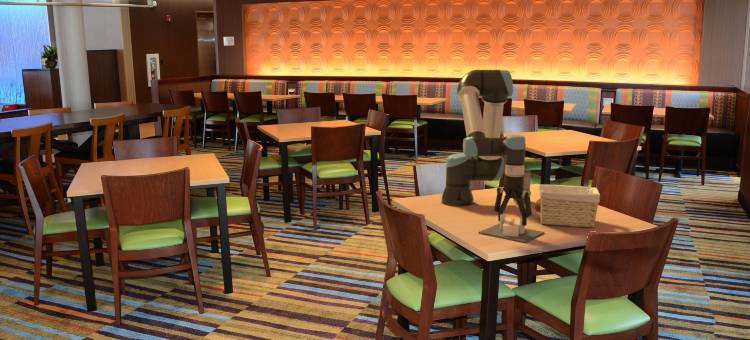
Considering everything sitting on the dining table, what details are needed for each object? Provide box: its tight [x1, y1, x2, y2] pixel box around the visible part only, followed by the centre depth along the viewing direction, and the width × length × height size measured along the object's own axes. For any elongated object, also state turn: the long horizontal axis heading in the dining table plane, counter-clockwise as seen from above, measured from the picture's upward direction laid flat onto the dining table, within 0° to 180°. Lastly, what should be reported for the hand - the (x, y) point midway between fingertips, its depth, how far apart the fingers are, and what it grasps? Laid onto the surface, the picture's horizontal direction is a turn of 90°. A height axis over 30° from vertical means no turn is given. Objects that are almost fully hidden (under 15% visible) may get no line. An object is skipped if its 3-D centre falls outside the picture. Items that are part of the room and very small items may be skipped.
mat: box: [478, 222, 545, 244], centre depth 260 cm, size 20×17×1 cm
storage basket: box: [538, 183, 601, 228], centre depth 275 cm, size 24×16×15 cm
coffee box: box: [512, 167, 532, 206], centre depth 311 cm, size 9×6×16 cm
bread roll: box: [533, 198, 541, 213], centre depth 297 cm, size 10×10×8 cm
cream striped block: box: [502, 217, 520, 237], centre depth 259 cm, size 12×6×4 cm, turn 163°
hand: (511, 231), depth 259 cm, fingers open, 8 cm apart
